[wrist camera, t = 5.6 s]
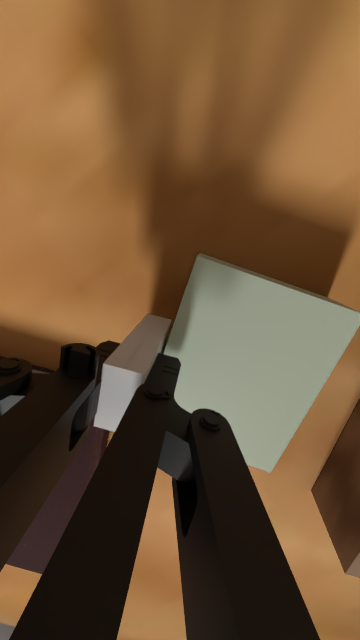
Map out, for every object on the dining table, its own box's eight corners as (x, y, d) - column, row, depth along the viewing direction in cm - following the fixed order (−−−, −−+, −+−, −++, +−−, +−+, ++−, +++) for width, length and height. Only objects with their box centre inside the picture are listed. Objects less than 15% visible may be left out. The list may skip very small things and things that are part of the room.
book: (123, 383, 19) (105, 410, 16) (94, 548, 25) (77, 592, 22) (-32, 341, 19) (-78, 360, 16) (-24, 513, 25) (-57, 550, 22)
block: (199, 252, 15) (197, 255, 11) (326, 296, 15) (366, 315, 11) (153, 387, 18) (138, 425, 14) (257, 424, 18) (270, 472, 14)
